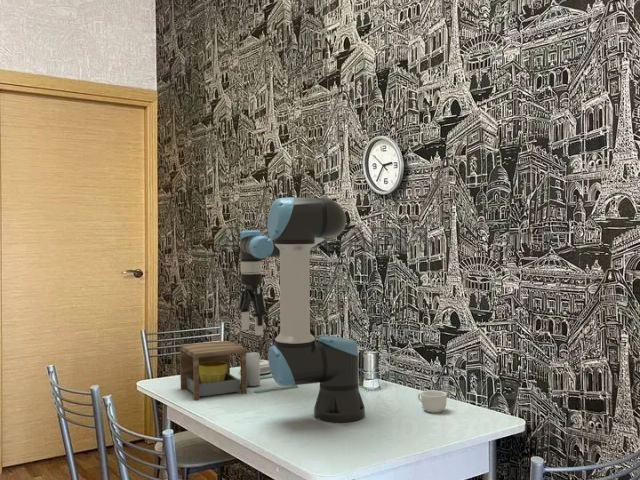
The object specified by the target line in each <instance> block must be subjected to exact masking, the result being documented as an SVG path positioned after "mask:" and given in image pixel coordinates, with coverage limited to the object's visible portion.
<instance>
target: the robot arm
mask: <svg viewBox="0 0 640 480" xmlns="http://www.w3.org/2000/svg"><path fill="white" fill-rule="evenodd" d="M346 225H347V216H346V212H345V210H344V209H343V207H342V205H340V203H338V202H336V201H334V200H333V199H330V198H327V197H291V196H290V197H281V198H280V197H279V198H277V199H275V200H274V201H273V203H272V205H271V206H270V209H269V211H268V217H267V227H266V229H267V235H262V231H261V230H258V229H257V230H242V231H240V239H239V245H240V273H241V275H240V283H241V293H240V300H239V304H238V305H239V306H238V309H239V310H240V312H241V331H246V330H247V331H248V330H250V305H251V304H252V306H253V310H254V313H255V314H254V335H255V336H263V335H264V317H265V316H266V308H265V307H266V306H265V302H264V298H263V297H264V296H263V289H262V288H263V287H258V285H261V284H262V283H263V275H262V270H263V269H262V268H263V266H264V265H263V263H262V262H263V261H262V259H266V258H279V318H280V319H279V322H280V323H279V328H280V329H279V330H280V331H279V333H278V335H277V336H276V337H275V339H274V344H273V345H271V346H270V347H269V348H268V352H267V353H268V354H267V359H268V361H269V366H270V370H271V372H270V373H271V374H270V375H272V376H273V378H272V379H273V380H274V382H275V383H276V384H277V385H278V386H279V387H282V386H295V385H298V386H302V385H303V386H304V385H311V384H319V389H318V395H317V398H316V401H315V404H314V408H313V417H315V419H317V420H319V421H323V422H328V423H349V422H355V421H358V420H362V419H363V418H364V417H365V416H366V408H365V405H364V402H363V398H362V396H361V392H360V388H359V387H360V386H359V357H360V354H359V347H358V343H357V342H356V341H355V340H354V339H350V338H346V337H339V336H332V335H331V336H327V335H322V336H319V337H318V340H317V341H318V342H316V337H315V336H314V335H313V334H311V323H310V322H311V317H310V315H311V314H310V313H311V309H310V308H311V304H310V303H311V302H310V301H311V300H310V299H311V297H310V294H311V293H310V290H311V288H310V287H311V286H310V282H311V281H310V277H311V276H310V272H311V271H310V261H311V259H310V254H311V251H312V248H313V247H315V246H317V245H318V244H320V243H322V242H324V241H325V240H332V239H335V238H337V237H338V236H339V235H341V234H342V233H343V232H344V230H345V228H346ZM251 302H252V303H251Z"/></svg>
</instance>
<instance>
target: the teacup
mask: <svg viewBox="0 0 640 480" xmlns="http://www.w3.org/2000/svg"><path fill="white" fill-rule="evenodd" d="M447 398H448V393H447V392H445V391H442V390H433V389H432V390H431V389H429V390H422V391H421V392H420V393H419V394H418V396H417V399H418V401H419V402H420V403H421V405H422V408H423V409H424V411H425V412H427V413H430V412H431V414H440V413H442V412H443V411H444V410H445V409H446V407H447V403H448V402H447Z"/></svg>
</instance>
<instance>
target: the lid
mask: <svg viewBox="0 0 640 480" xmlns="http://www.w3.org/2000/svg"><path fill="white" fill-rule="evenodd" d="M239 366H240V367H241V364H239ZM239 372H240V373H241V369H240V371H239ZM268 373H271V370H270V366H269V360H266V359H260V375H262V374H263V375H265V374H268Z"/></svg>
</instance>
